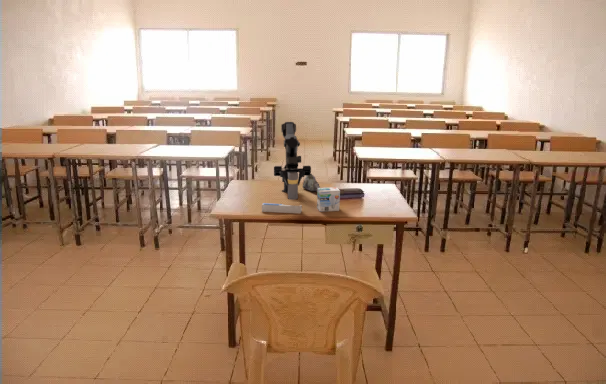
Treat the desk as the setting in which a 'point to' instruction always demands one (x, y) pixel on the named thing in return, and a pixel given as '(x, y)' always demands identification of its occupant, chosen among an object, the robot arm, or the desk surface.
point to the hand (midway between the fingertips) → (293, 185)
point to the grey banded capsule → (292, 185)
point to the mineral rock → (310, 183)
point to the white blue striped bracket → (281, 208)
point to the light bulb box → (328, 199)
